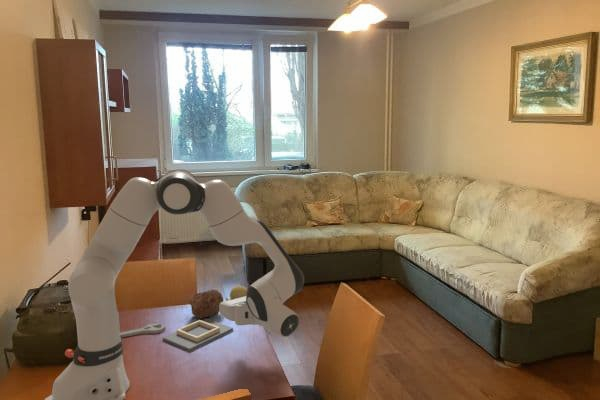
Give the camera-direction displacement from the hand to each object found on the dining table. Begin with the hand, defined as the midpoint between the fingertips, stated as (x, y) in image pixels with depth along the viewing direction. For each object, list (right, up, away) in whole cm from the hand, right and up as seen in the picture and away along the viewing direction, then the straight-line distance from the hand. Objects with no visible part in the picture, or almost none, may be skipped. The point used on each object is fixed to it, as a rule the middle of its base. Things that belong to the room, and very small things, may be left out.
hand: (238, 296), depth 171 cm
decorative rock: (-15, -12, +27) cm, 33 cm away
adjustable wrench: (-40, -16, +11) cm, 44 cm away
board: (-15, -15, +9) cm, 23 cm away
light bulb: (+1, -6, 0) cm, 6 cm away
